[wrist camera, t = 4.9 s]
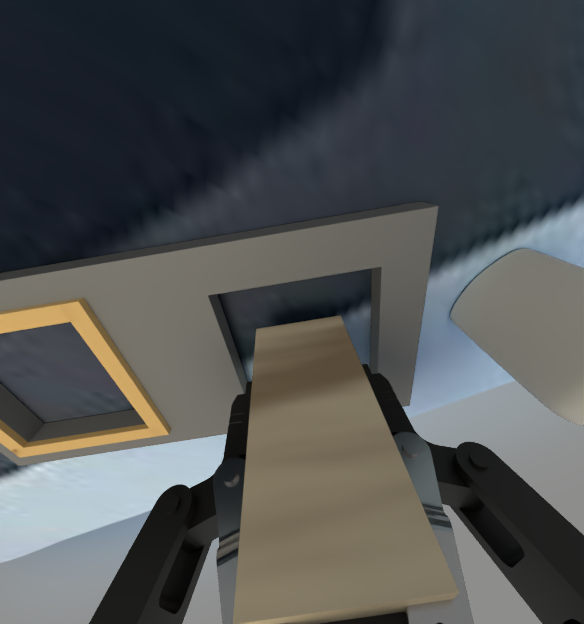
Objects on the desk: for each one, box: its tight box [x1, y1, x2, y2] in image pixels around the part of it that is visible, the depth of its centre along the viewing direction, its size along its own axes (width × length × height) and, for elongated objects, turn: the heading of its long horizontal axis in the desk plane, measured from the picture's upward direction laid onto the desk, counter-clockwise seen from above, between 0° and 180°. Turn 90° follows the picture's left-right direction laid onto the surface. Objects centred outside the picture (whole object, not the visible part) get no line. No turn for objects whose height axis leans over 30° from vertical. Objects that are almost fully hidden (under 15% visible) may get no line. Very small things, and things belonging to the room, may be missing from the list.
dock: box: [0, 201, 438, 466], centre depth 16 cm, size 14×30×2 cm, turn 99°
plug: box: [233, 316, 459, 624], centre depth 10 cm, size 4×4×10 cm
